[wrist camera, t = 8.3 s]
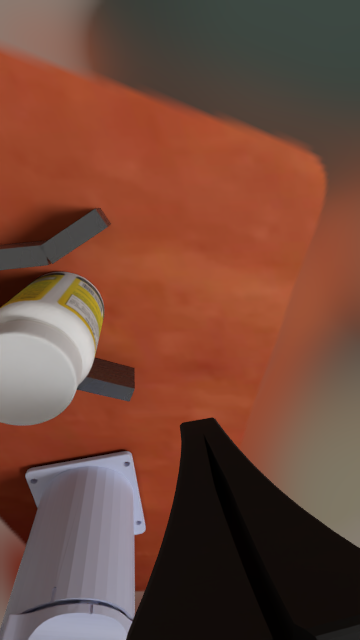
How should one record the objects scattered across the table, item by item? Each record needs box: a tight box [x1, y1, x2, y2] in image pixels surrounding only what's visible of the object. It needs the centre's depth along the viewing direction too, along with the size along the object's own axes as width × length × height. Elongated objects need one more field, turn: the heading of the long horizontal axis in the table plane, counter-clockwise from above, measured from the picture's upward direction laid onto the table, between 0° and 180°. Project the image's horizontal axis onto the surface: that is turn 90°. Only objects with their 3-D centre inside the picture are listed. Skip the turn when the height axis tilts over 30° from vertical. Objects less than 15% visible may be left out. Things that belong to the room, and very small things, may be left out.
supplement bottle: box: [0, 272, 104, 425], centre depth 14 cm, size 5×5×8 cm
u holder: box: [0, 208, 135, 401], centre depth 17 cm, size 12×9×2 cm
